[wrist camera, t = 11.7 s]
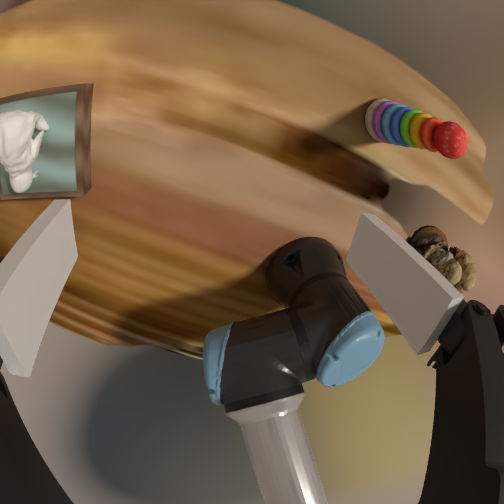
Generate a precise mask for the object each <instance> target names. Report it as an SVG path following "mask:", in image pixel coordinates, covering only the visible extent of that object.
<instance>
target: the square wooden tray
mask: <svg viewBox="0 0 504 504" xmlns="http://www.w3.org/2000/svg"><path fill="white" fill-rule="evenodd" d="M92 93H93V84H77V85H68V86H61V87H54V88H48V89H42V90H36V91H31V92H26V93H21V94H16V95H12V96H8V97H4V98H0V114H1V113H5V112H10V111H16V110H21V111H23V112H24V111H25V112H29V111H33V112H35V113H39V114H41V115H42V116H43V118H44V119H45V121H46V122H47V124H48V125H49V129H48V130H47V131H44V135H43V138H42V142H41V145H40V149H39V153H38V156H37V158H36V160H35V163H34V164H33V166H32V173H33V174H34V173H35V172H36V171H37V170H38V171H37V172H36V175H37V177H34V178H33V180H32V184H31V186H30V188H29V189H28V190H26V191H25V192H23V193H16V192H15V191H13V189H12V187H11V185H10V180H9V177H10V175H9V173H8V172H7V171H6V170H5V168H4V166H3V165H2V164H1V163H0V199H1V200H7V199H25V198H48V197H84V195H85V194H86V193H87V192H88V191H89V189H90V188H91V166H90V132H91V108H92ZM40 132H41V131H40V130H37V129H36V127H35V129H34V132H33V135H32V140H34V139H35V138H36V136H37V135H38V134H39V133H40ZM35 169H36V170H35Z"/></svg>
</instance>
